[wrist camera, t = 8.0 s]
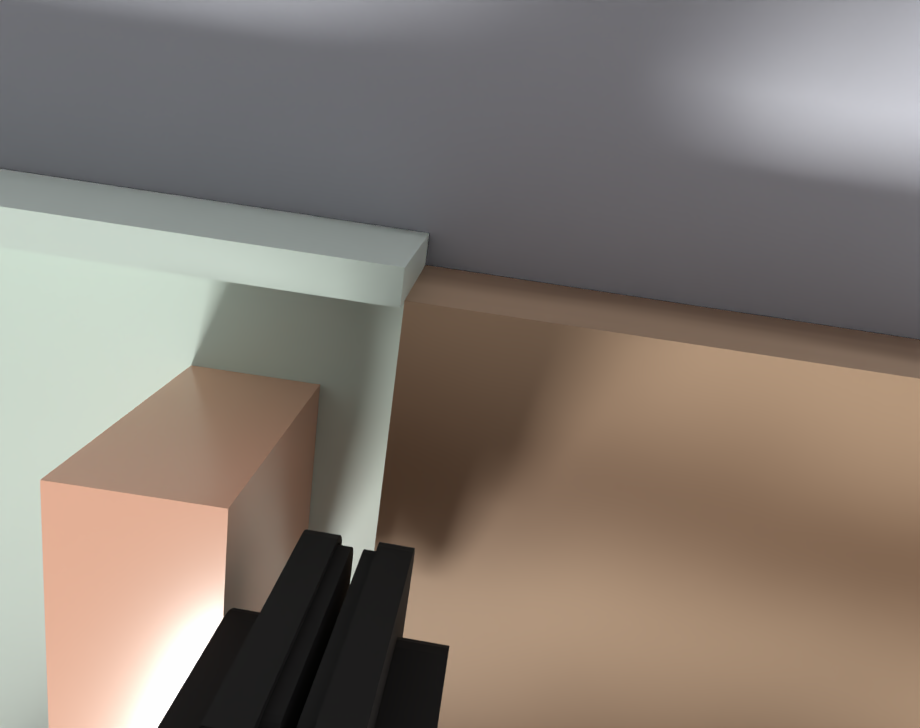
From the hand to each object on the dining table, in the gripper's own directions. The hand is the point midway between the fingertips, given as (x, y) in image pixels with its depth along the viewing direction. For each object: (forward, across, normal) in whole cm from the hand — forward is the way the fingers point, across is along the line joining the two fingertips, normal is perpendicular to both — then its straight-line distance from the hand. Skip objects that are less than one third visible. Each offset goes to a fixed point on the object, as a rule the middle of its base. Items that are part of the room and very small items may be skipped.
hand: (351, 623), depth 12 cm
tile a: (+2, +2, 0) cm, 2 cm away
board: (+5, -5, +4) cm, 8 cm away
